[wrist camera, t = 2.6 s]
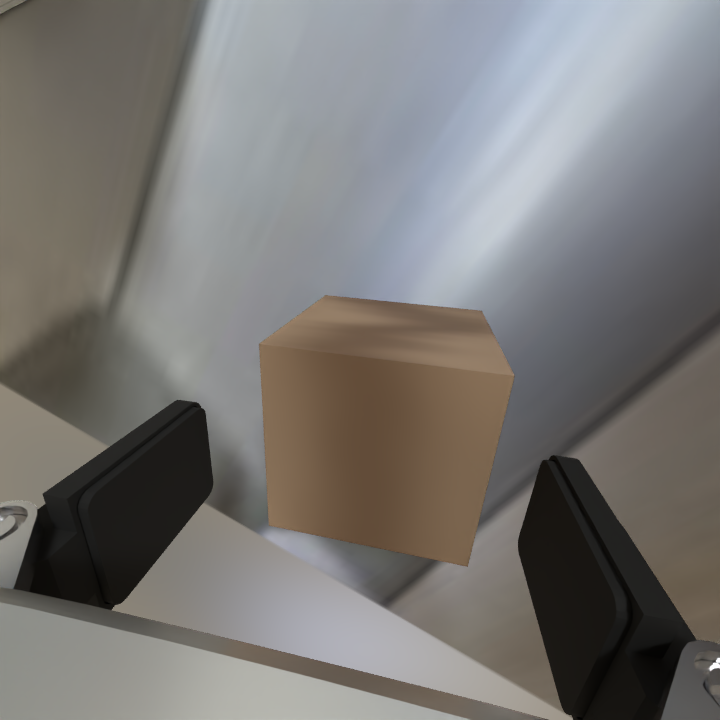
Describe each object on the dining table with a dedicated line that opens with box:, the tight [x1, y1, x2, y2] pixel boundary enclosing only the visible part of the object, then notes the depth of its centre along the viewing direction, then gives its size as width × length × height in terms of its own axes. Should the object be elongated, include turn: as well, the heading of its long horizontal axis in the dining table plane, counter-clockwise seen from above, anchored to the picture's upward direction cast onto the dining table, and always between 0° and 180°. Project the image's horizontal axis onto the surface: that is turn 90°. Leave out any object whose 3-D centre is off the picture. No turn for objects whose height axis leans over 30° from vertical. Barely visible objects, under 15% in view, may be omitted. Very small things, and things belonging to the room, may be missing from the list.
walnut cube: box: [259, 295, 515, 567], centre depth 12 cm, size 6×6×6 cm
